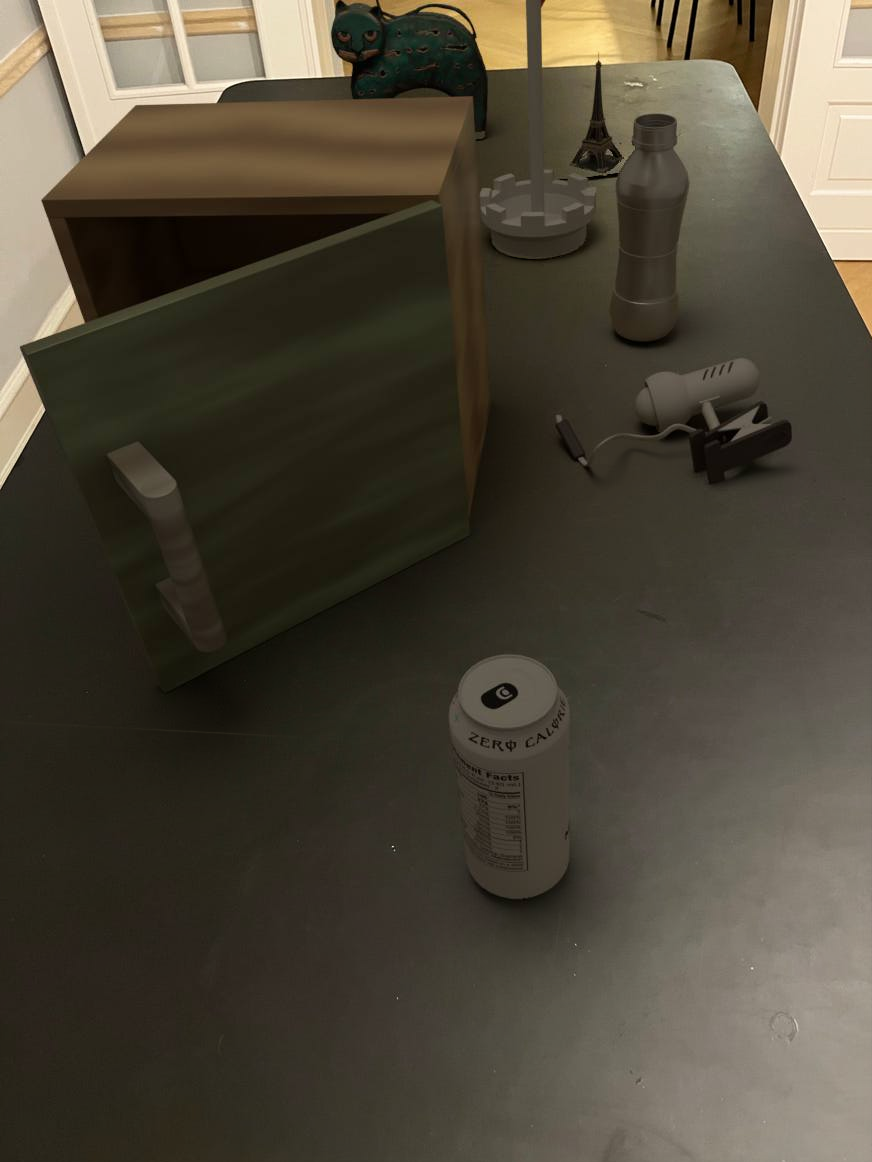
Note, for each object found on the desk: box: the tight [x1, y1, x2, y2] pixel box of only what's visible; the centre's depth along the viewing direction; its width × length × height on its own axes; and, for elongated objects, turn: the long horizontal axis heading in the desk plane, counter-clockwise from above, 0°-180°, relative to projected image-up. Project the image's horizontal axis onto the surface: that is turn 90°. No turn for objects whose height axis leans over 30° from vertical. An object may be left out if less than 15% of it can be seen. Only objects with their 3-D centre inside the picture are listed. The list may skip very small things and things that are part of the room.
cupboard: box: [40, 96, 492, 517], centre depth 82 cm, size 18×26×26 cm
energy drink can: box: [448, 654, 571, 900], centre depth 56 cm, size 6×6×15 cm
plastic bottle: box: [609, 113, 690, 342], centre depth 96 cm, size 6×7×20 cm
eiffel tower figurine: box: [569, 52, 632, 174], centre depth 130 cm, size 15×10×13 cm
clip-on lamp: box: [555, 357, 793, 485], centre depth 87 cm, size 12×6×18 cm
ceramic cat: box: [330, 0, 489, 132], centre depth 138 cm, size 20×6×20 cm, turn 90°
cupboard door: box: [19, 200, 471, 694], centre depth 67 cm, size 7×26×26 cm, turn 127°
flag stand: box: [479, 0, 597, 257], centre depth 110 cm, size 13×13×30 cm
